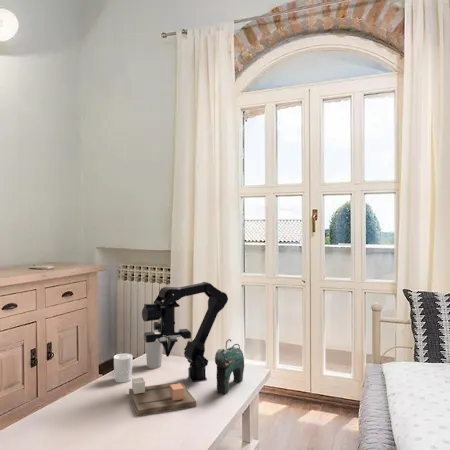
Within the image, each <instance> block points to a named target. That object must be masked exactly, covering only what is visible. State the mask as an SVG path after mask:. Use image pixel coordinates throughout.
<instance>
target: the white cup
mask: <svg viewBox="0 0 450 450" xmlns="http://www.w3.org/2000/svg"><path fill="white" fill-rule="evenodd" d="M133 357H134V356H133V354H131V353H118V354H116V355H114V356H113V371H114V381H115V382H117V383H122V384H123V383H127V382H130V381H132V373H133Z"/></svg>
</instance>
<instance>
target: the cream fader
mask: <svg viewBox="0 0 450 450" xmlns="http://www.w3.org/2000/svg"><path fill="white" fill-rule="evenodd" d="M145 387H146V381H145V379H144V377H136V378H131V389H132V390H133V392H134V394H138V393H145Z"/></svg>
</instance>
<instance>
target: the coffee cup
mask: <svg viewBox="0 0 450 450" xmlns="http://www.w3.org/2000/svg"><path fill="white" fill-rule="evenodd" d="M153 332H154V333H155V334H161V333H159V332H158V331H153ZM144 344H145V355H146V366H147V369H153V370H155V369H159V368H161V367H162V362H163V352H164V351H163V350H164V347H163V345H162V343H160V342H159V341H158V339H156V341H155V342H149V343H147V342H145V341H144Z"/></svg>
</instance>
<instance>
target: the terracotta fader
mask: <svg viewBox="0 0 450 450" xmlns="http://www.w3.org/2000/svg"><path fill="white" fill-rule="evenodd" d="M170 397H171V398H172V400H173V401H175V400H181V399H184V388H183V386H182V385H181V384H180V383H179V384H172V385H170Z"/></svg>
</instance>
